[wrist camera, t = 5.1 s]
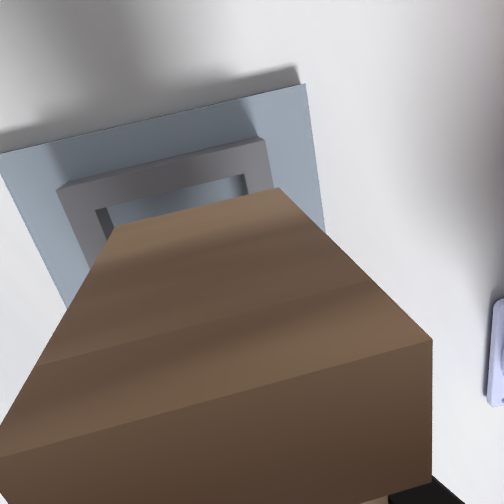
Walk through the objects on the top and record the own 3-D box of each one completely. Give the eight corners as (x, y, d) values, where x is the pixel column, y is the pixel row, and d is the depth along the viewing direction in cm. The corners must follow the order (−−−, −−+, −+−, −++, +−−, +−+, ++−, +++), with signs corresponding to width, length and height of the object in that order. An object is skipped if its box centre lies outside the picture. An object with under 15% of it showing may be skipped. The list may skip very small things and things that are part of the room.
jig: (301, 84, 15) (317, 81, 13) (346, 407, 22) (361, 436, 20) (-1, 153, 14) (-31, 162, 12) (149, 464, 21) (145, 500, 19)
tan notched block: (115, 226, 9) (-22, 462, 3) (278, 187, 9) (431, 338, 3) (227, 526, 14) (255, 832, 8) (331, 495, 14) (430, 770, 8)
